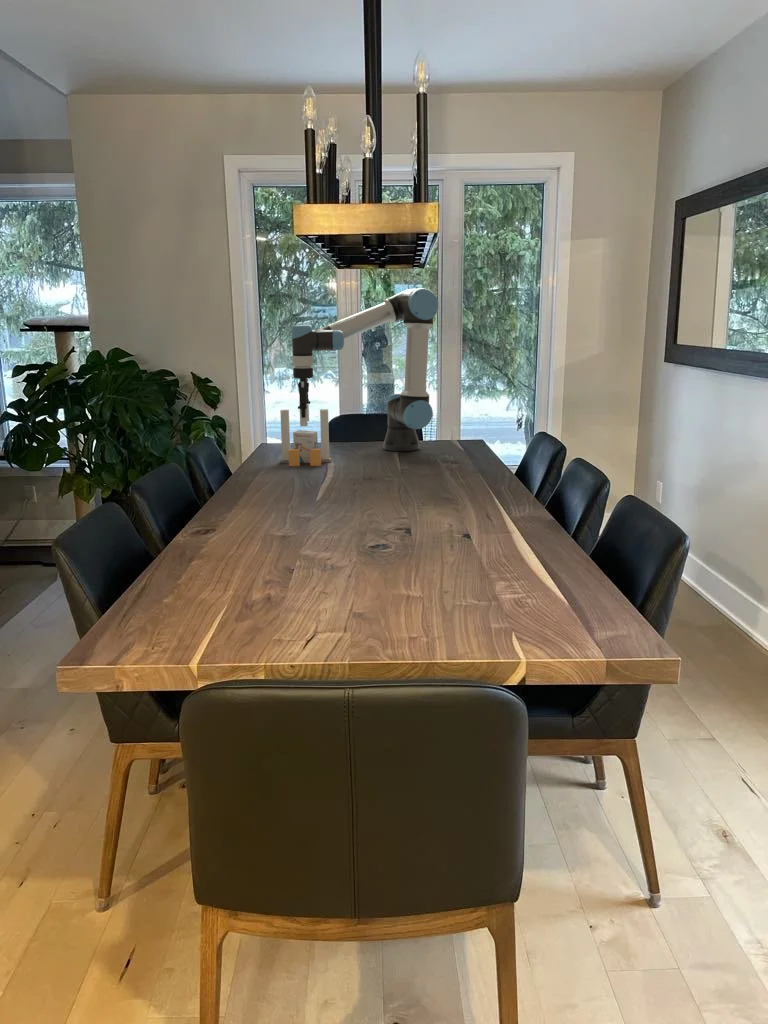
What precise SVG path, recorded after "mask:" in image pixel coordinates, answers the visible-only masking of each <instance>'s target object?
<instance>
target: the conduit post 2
mask: <svg viewBox="0 0 768 1024" xmlns="http://www.w3.org/2000/svg"><path fill="white" fill-rule="evenodd" d="M319 420H320V422H319V424H320V449H321V463H332V457H330V438H329V437H330V435H329V434H330V433H329V430H330V429H329V408H321V409H320V410H319Z"/></svg>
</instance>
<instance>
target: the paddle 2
mask: <svg viewBox="0 0 768 1024" xmlns="http://www.w3.org/2000/svg"><path fill="white" fill-rule="evenodd" d="M309 464H310V465H309V466H311V467H312V466H313V467H316V466H317V467H319V466H320V467H321V466H322V462H321V448H318V449H310V463H309Z"/></svg>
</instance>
